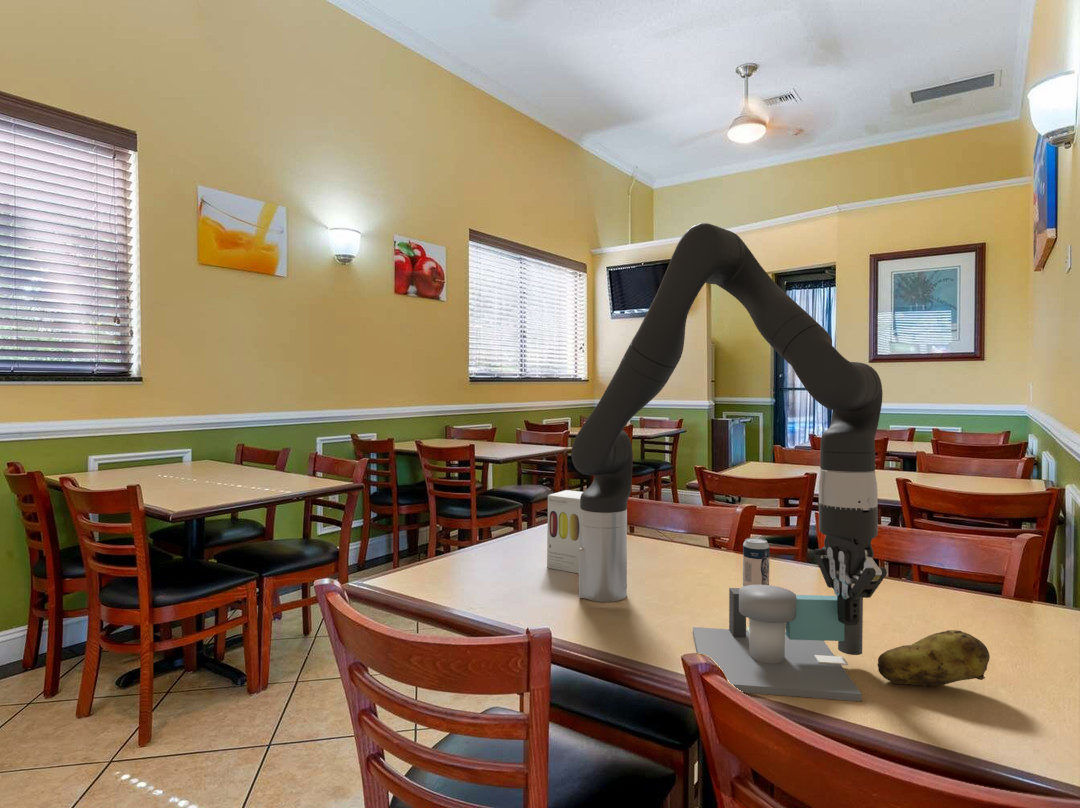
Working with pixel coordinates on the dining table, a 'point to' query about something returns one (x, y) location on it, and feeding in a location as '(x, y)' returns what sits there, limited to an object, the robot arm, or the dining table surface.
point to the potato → (936, 660)
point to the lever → (802, 615)
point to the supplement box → (563, 531)
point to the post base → (777, 674)
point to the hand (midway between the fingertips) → (848, 623)
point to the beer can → (755, 562)
